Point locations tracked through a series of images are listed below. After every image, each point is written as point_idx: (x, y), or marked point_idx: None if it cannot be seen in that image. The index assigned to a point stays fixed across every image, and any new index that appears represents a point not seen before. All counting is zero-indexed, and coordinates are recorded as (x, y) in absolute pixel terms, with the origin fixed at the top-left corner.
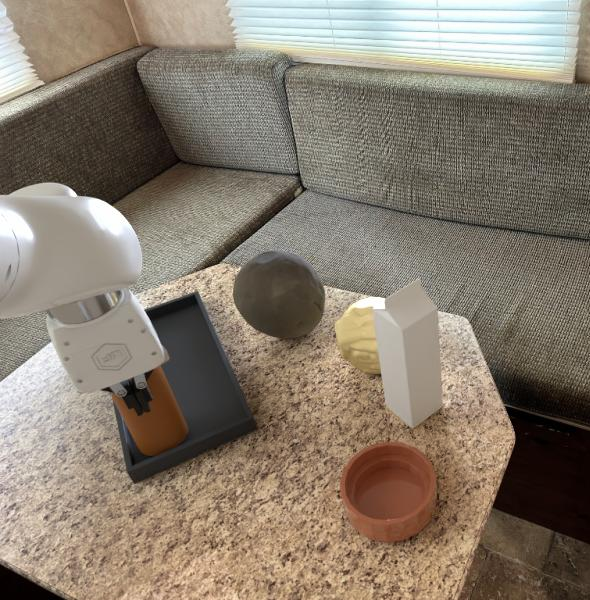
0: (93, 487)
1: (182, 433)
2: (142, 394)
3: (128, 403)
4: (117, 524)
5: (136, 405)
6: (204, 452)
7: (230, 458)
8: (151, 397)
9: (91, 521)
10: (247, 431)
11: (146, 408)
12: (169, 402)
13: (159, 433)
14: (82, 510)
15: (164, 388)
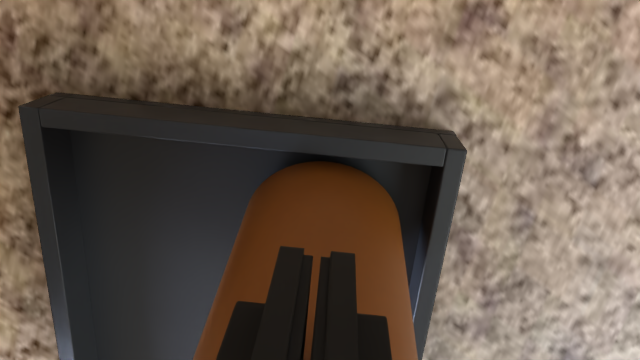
0: (553, 193)
1: (260, 193)
2: (255, 354)
3: (373, 348)
4: (551, 12)
5: (332, 303)
6: (232, 110)
7: (164, 36)
8: (231, 315)
9: (608, 77)
10: (82, 97)
11: (290, 263)
12: (224, 293)
13: (318, 208)
14: (612, 133)
15: (199, 357)
